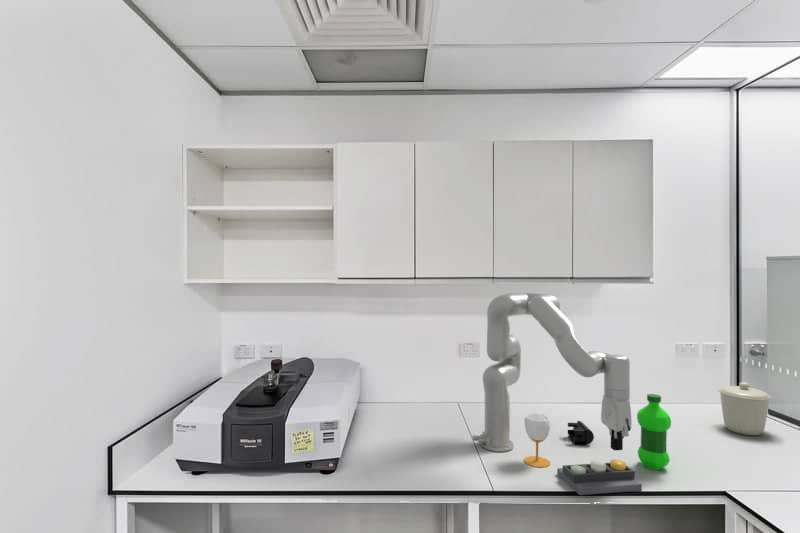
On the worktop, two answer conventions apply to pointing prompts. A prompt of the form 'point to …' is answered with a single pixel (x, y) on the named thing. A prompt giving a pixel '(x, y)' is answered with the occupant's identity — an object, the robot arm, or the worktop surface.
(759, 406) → the canister
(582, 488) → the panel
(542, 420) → the cup
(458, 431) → the worktop surface
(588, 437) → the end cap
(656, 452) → the plastic bottle
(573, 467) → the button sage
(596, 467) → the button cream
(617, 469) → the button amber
